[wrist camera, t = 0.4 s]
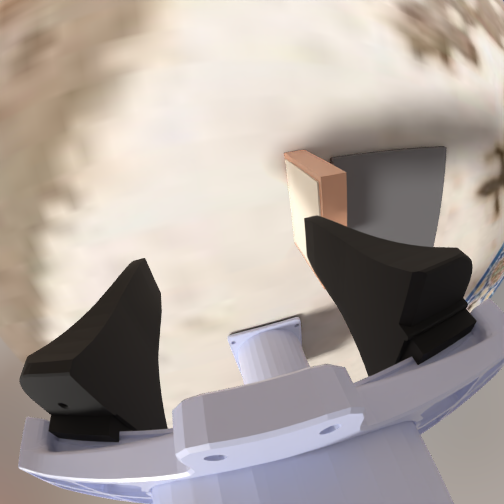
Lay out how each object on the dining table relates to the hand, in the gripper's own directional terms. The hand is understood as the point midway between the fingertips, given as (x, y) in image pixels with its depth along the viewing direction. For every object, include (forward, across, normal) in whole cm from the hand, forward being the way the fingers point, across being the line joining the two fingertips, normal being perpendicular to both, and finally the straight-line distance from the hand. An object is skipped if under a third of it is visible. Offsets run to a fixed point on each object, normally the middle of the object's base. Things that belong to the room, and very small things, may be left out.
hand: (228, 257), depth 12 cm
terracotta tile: (+10, -6, +2) cm, 12 cm away
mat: (+10, -16, +6) cm, 20 cm away
